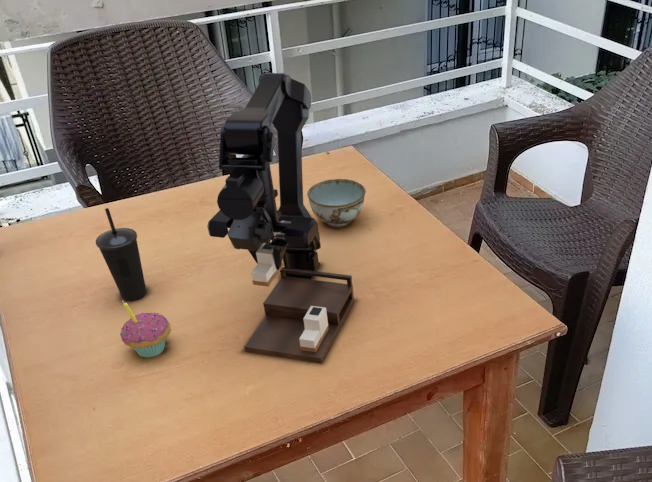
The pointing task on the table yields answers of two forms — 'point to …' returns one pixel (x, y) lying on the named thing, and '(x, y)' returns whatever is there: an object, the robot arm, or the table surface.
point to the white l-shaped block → (265, 266)
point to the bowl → (337, 201)
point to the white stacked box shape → (314, 328)
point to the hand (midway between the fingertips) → (270, 267)
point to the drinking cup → (123, 260)
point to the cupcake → (145, 332)
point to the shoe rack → (300, 314)
